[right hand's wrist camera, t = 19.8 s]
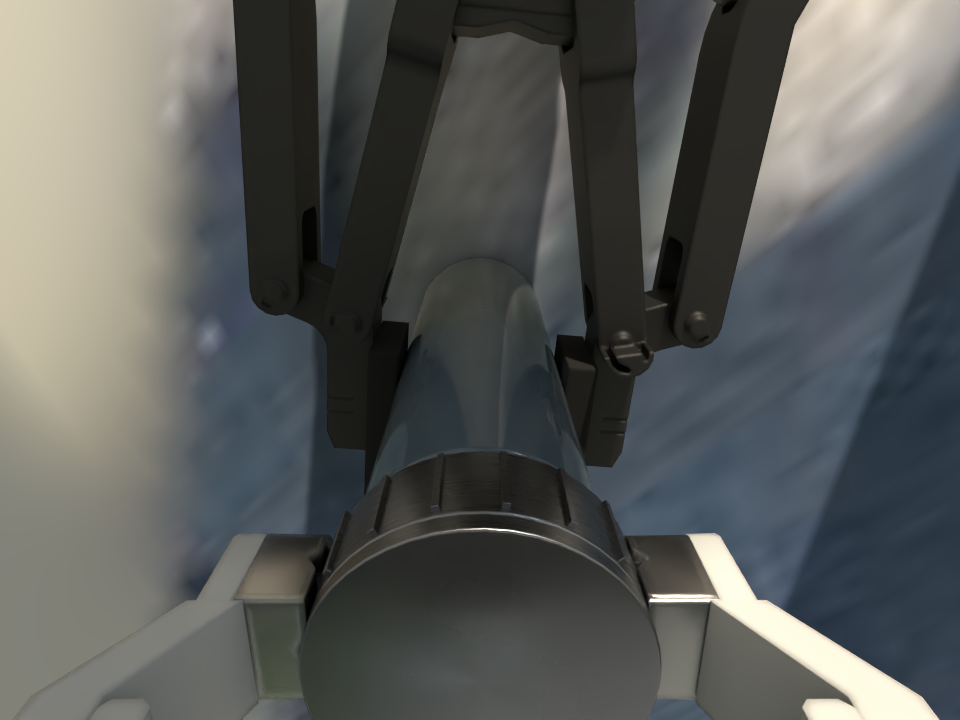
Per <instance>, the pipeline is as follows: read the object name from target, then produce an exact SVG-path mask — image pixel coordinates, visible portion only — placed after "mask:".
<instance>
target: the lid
mask: <svg viewBox="0 0 960 720" xmlns="http://www.w3.org/2000/svg"><path fill="white" fill-rule="evenodd" d="M639 566H640V565H639V564H637V563H635V562H633V560H632V557H631V555H630V552H629V549H628V546H627V543H626V540H625V537H624V535H623V533H622V531H621V529H620V526H619V524H618V523H617V521H616V520H615V518H614V516H613V513H612V510H611V507H610V504H609V503H608V502H607V501H606V500H605V501H604V502H602V501H601V500H600V499H599V498H598V497H597V496H596V495H595V494H594V493H593V492H591V491H590V490H589V489H588V488H587V487H585V486H584V485H583V484H582V483H580V482H579V481H577V480H576V479H574V478H572V477H571V476H569V475H568V474H566V470H565V469H563V468H561V467H559V469H556V468H554V467H552V466H550V465H548V464H545V463H542V462H539V461H536V460H533V459H530V458H527V457H522V456H517V455H512V454H507V451H500V453H497V452H462V453H455V454H448V455H445V454H444V453H441V454H437V457H435V458H431V459H427V460H423V461H421V462H418V463H416V464H413V465H411V466H408V467H406V468H403V469H402V470H400V471H398V472H396V473H395V474H393V475H391V476H388V475H387V474H386V475H385V476H383V477H382V478H381V482H380V483H379V484H378V485H376V486H375V487H374V488H372V489H371V490H370V491H369V492H368V493H367V494H366V495H365V496H363V497H362V498H361V499H360V500H359V501H358V502H357V503H356V505H355V506H354V507H353V509H352V510H351V511H350V513H349V512H347V511H345V512H344V513H343V515H342V517H341V520H340V523H339V526H338V529H337V532H336V535H335V538H334V541H333V544H332V547H331V550H330V553H329V556H328V559H327V562H326V564H325V567H324V570H323V573H322V574H321V575H319V576H318V577H317V586H318V591H317V594H316V597H315V600H314V603H313V606H312V609H311V612H310V615H309V618H308V621H307V624H306V627H305V630H304V633H303V636H302V640H301V646H300V652H299V678H300V683H301V689H302V694H303V697H304V700H305V702H306V705H307V708H308V711H309V713H310V715H311V716H312V718H313V720H647V719H648V717H649V715H650V713H651V711H652V708H653V706H654V704H655V701H656V698H657V694H658V690H659V686H660V680H661V668H662V662H661V650H660V644H659V640H658V637H657V633H656V629H655V626H654V623H653V620H652V617H651V614H650V612H649V610H648V606H647V603H646V600H645V597H644V594H643V591H642V588H641V585H640V582H639V579H638V568H639Z"/></svg>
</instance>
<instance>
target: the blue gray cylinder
mask: <svg viewBox="0 0 960 720" xmlns="http://www.w3.org/2000/svg"><path fill="white" fill-rule="evenodd" d="M500 451H507V454H512V455H517V456H522V457H527V458H530V459H533V460H536V461H539V462H542V463H545V464H548V465H550V466H552V467H554V468H556V469H559V467H561V468H563V469H565V470H566V474H568V475H569V476H571V477H572V478H574V479H576V480H577V481H579V482H580V483H582V484H583V485H584V486H585V487H587V488H588V489H589V490H590V491H591V492H593V493H594V491H593V488H592V484H591V481H590V478H589V474H588V471H587V467H586V464H585V461H584V457H583V454H582V450H581V447H580V444H579V440H578V437H577V434H576V430H575V427H574V423H573V420H572V417H571V413H570V410H569V406H568V403H567V400H566V396H565V393H564V390H563V386H562V383H561V379H560V376H559V373H558V369H557V366H556V362H555V359H554V356H553V352H552V349H551V345H550V342H549V339H548V335H547V332H546V329H545V325H544V322H543V318H542V315H541V312H540V308H539V305H538V301H537V298H536V295H535V293H534V291H533V289H532V287H531V285H530V284H529V282H528V281H527V280H526V279H525V277H524V276H523V275H522V274H521V273H520V272H518V271H517V270H516V269H514V268H513V267H511V266H510V265H508V264H506V263H503V262H501V261H498V260H494V259H489V258H471V259H466V260H462V261H459V262H456V263H454V264H452V265H450V266H448V267H447V268H445V269H444V270H442V271H441V272H440V273H439V274H438V275H437V276H436V277H435V278H434V279H433V281H432V282H431V283H430V285H429V286H428V288H427V290H426V292H425V294H424V298H423V301H422V304H421V308H420V311H419V314H418V318H417V321H416V325H415V328H414V331H413V335H412V338H411V342H410V345H409V348H408V352H407V355H406V359H405V362H404V365H403V369H402V372H401V376H400V379H399V382H398V386H397V389H396V393H395V396H394V399H393V403H392V406H391V410H390V413H389V416H388V420H387V423H386V427H385V430H384V433H383V437H382V440H381V444H380V447H379V450H378V454H377V457H376V461H375V464H374V467H373V471H372V474H371V478H370V481H369V484H368V488H367V491H366V494H367V493H368V492H369V491H370V490H371V489H372V488H374V487H375V486H376V485H378V484H379V483H380V482H381V478H382V477H383V476H385V475H386V474H387V475H388V476H391V475H393V474H395V473H396V472H398V471H400V470H402V469H403V468H406V467H408V466H411V465H413V464H416V463H418V462H421V461H423V460H427V459H431V458H435V457H437V454H441V453H444V454H445V455H448V454H455V453H462V452H497V453H500Z"/></svg>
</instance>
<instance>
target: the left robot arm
mask: <svg viewBox="0 0 960 720" xmlns="http://www.w3.org/2000/svg"><path fill="white" fill-rule="evenodd" d="M634 1H635V0H397V2H396V6H395V10H394V14H393V18H392V22H391V27H390V31H389V36H388V43H387V57H386V62H385V67H384V71H383V75H382V79H381V83H380V87H379V91H378V96H377V100H376V104H375V108H374V112H373V116H372V120H371V125H370V129H369V133H368V137H367V141H366V145H365V149H364V153H363V158H362V162H361V166H360V170H359V174H358V178H357V182H356V186H355V191H354V195H353V199H352V203H351V207H350V211H349V215H348V220H347V224H346V228H345V232H344V236H343V240H342V244H341V248H340V253H339V257H338V261H337V265H336V269H334V268H331V267H329V266H327V265H325V264H322V263H321V229H320V176H319V122H318V68H317V17H316V3H315V0H233V9H234V26H235V43H236V60H237V78H238V95H239V112H240V129H241V146H242V164H243V181H244V198H245V215H246V233H247V250H248V267H249V284H250V293H251V297H252V300H253V301H254V303H255V304H256V306H257V307H258V308H259V309H261V310H262V311H264V312H265V313H267V314H271V315H275V316H276V315H284V314H288V315H291V316H293V317H295V318H298V319H300V320H302V321H305V322H307V323H309V324H311V325H312V326H314V327H315V328H316V329H317V330H318V331H320V333H321V334H322V336H323V337H324V339H325V342H326V344H327V396H328V399H327V410H328V412H327V432H328V434H329V436H330V438H331V441H332V443H333V445H334V448H347V449H360V450H366V453H365V492H364V496H365V495H366V491H367V488H368V484H369V481H370V478H371V474H372V471H373V467H374V464H375V461H376V457H377V454H378V450H379V447H380V444H381V440H382V437H383V433H384V430H385V427H386V423H387V420H388V416H389V413H390V410H391V406H392V403H393V399H394V396H395V393H396V389H397V386H398V382H399V379H400V376H401V372H402V369H403V365H404V362H405V359H406V355H407V351H408V330H409V323H406V322H393V321H383V322H382V324H381V321H382V307H383V305H384V303H385V301H386V299H387V298H388V297H386V295H387V292H388V288H389V284H390V281H391V277H392V273H393V270H394V266H395V263H396V259H397V255H398V252H399V248H400V244H401V241H402V237H403V233H404V230H405V226H406V222H407V219H408V215H409V211H410V208H411V204H412V200H413V197H414V193H415V189H416V186H417V182H418V179H419V175H420V171H421V168H422V164H423V160H424V157H425V153H426V149H427V146H428V142H429V138H430V135H431V131H432V127H433V124H434V120H435V116H436V113H437V109H438V105H439V102H440V98H441V94H442V91H443V87H444V84H445V80H446V78H447V75H448V72H449V69H450V66H451V62H452V59H453V55H454V52H455V48H456V44H457V41H458V37H459V36H463V37H473V38H480V37H485V36H490V35H495V34H500V33H505V32H513V33H516V34H518V35H521V36H523V37H526V38H528V39H531V40H533V41H536V42H538V43H541V44H549V45H559V55H560V66H561V76H562V82H563V86H564V90H565V96H566V107H567V119H568V130H569V142H570V153H571V165H572V176H573V187H574V199H575V210H576V222H577V233H578V245H579V256H580V268H581V279H582V291H583V302H584V314H585V322H586V325H587V330H586V337H585V340H584V338H583V337H581V336H569V335H557V341H556V348H555V356H554V359H555V362H556V366H557V369H558V373H559V376H560V379H561V383H562V386H563V390H564V393H565V396H566V400H567V403H568V406H569V410H570V413H571V417H572V420H573V423H574V427H575V430H576V434H577V437H578V440H579V444H580V447H581V450H582V454H583V457H584V461H585V464H586V466H600V467H612V466H613V465H614V463H615V462H616V460H617V459H618V457H619V456H620V454H621V452H622V448H623V442H624V436H625V431H626V425H627V419H628V414H629V409H630V403H631V398H632V392H633V386H634V381H635V376H638V375H641V374H642V373H643V372H645V371H646V370H647V369H648V368H649V366H650V365H651V363H652V361H653V357H654V352H656V351H659V350H663V349H667V348H671V347H675V346H679V345H684V346H687V347H690V348H702V347H704V346H706V345H708V344H710V343H712V342H713V341H714V340H715V339H716V338H717V337H718V334H719V332H720V330H721V327H722V323H723V319H724V315H725V311H726V307H727V303H728V298H729V294H730V290H731V286H732V282H733V278H734V274H735V270H736V265H737V261H738V257H739V253H740V249H741V245H742V241H743V236H744V232H745V228H746V224H747V220H748V216H749V212H750V208H751V203H752V199H753V195H754V191H755V187H756V183H757V179H758V174H759V170H760V166H761V162H762V158H763V154H764V150H765V146H766V141H767V137H768V133H769V129H770V125H771V121H772V117H773V112H774V108H775V104H776V100H777V96H778V92H779V88H780V84H781V79H782V75H783V71H784V67H785V63H786V59H787V55H788V50H789V46H790V42H791V38H792V34H793V30H794V26H795V23H796V22H797V20H798V18H799V17H800V15H801V13H802V11H803V10H804V8H805V6H806V5H807V3H808V1H809V0H713V1H714V2H716V3H717V4H716V6H715V8H714V10H713V12H712V14H711V17H710V20H709V23H708V25H707V28H706V31H705V34H704V38H703V42H702V45H701V49H700V53H699V58H698V63H697V68H696V73H695V78H694V83H693V88H692V93H691V98H690V104H689V109H688V114H687V119H686V124H685V129H684V134H683V139H682V144H681V149H680V154H679V159H678V164H677V169H676V174H675V179H674V184H673V189H672V194H671V199H670V204H669V209H668V214H667V219H666V224H665V229H664V234H663V239H662V244H661V249H660V254H659V259H658V264H657V269H656V274H655V279H654V284H653V290H652V291H648V292H644V279H643V260H642V241H641V222H640V204H639V185H638V166H637V147H636V128H635V110H634V91H633V79H634V73H635V69H636V61H637V47H636V27H635V8H634Z"/></svg>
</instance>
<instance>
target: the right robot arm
mask: <svg viewBox="0 0 960 720" xmlns="http://www.w3.org/2000/svg"><path fill="white" fill-rule="evenodd" d="M624 537H625V540H626V543H627V546H628V549H629V552H630V555H631V557H632V560H633V562H635V563H637V564H639V565H640V566H639V568H638V579H639V582H640V585H641V588H642V591H643V594H644V597H645V600H646V603H647V606H648V610H649V612H650V614H651V617H652V620H653V623H654V626H655V629H656V633H657V637H658V640H659V644H660V650H661V662H662V668H661V680H660V686H659V690H658V694H657V698H663V699H696V703H697V704H698V705H699V706H700V707H701V708H702V709H703V710H704V712H705V713H706V714H707V715H708V716H709V717H710V718H711V719H712V720H939V719H938V717H937V716H936V715H935V713H934V712H933V711H932V709H931V708H930V707H929V705H928V704H927V703H926V701H925V700H924V699H923V698H922V697H921V696H920V695H918V694H916V693H915V692H913V691H912V690H910V689H908V688H907V687H905V686H904V685H902V684H900V683H899V682H897V681H896V680H894V679H892V678H891V677H889V676H888V675H886V674H884V673H883V672H881V671H880V670H878V669H876V668H875V667H873V666H872V665H870V664H868V663H867V662H865V661H864V660H862V659H860V658H859V657H857V656H855V655H854V654H852V653H851V652H849V651H847V650H846V649H844V648H843V647H841V646H839V645H838V644H836V643H835V642H833V641H831V640H830V639H828V638H827V637H825V636H823V635H822V634H820V633H819V632H817V631H815V630H814V629H812V628H811V627H809V626H807V625H806V624H804V623H803V622H801V621H799V620H798V619H796V618H795V617H793V616H791V615H790V614H788V613H786V612H785V611H783V610H782V609H780V608H778V607H777V606H775V605H774V604H772V603H770V602H769V601H767V600H757V599H756V597H755V595H754V593H753V592H752V590H751V588H750V587H749V585H748V583H747V581H746V580H745V578H744V576H743V575H742V573H741V571H740V570H739V568H738V566H737V564H736V563H735V561H734V559H733V558H732V556H731V554H730V552H729V551H728V549H727V547H726V546H725V544H724V542H723V541H722V539H721V537H720V536H719V535H717V534H716V533H705V534H685V535H639V536H624ZM332 544H333V539H332V538H331V536H330V535H308V534H238V535H236V536H234V537H233V539H232V540H231V542H230V544H229V545H228V547H227V549H226V550H225V552H224V554H223V555H222V557H221V559H220V560H219V562H218V564H217V565H216V567H215V569H214V571H213V572H212V574H211V576H210V577H209V579H208V581H207V582H206V584H205V586H204V587H203V589H202V591H201V592H200V594H199V596H198V598H197V599H196V600H186V601H185V602H183V603H181V604H180V605H178V606H176V607H175V608H173V609H172V610H170V611H168V612H167V613H165V614H163V615H162V616H160V617H159V618H157V619H155V620H154V621H152V622H150V623H149V624H147V625H146V626H144V627H142V628H141V629H139V630H137V631H136V632H134V633H133V634H131V635H129V636H128V637H126V638H124V639H123V640H121V641H120V642H118V643H116V644H115V645H113V646H111V647H110V648H108V649H107V650H105V651H103V652H102V653H100V654H98V655H97V656H95V657H94V658H92V659H90V660H89V661H87V662H85V663H84V664H82V665H81V666H79V667H77V668H76V669H74V670H72V671H71V672H69V673H68V674H66V675H64V676H63V677H61V678H59V679H58V680H56V681H54V682H53V683H51V684H50V685H48V686H46V687H45V688H43V689H41V690H40V691H38V692H37V693H35V694H33V695H32V696H31V697H30V698H29V699H28V700H27V702H26V703H25V704H24V706H23V707H22V708H21V709H20V711H19V712H18V713H17V715H16V716H15V717H14V718H13V720H242V719H243V718H244V717H245V716H246V715H247V714H248V713H249V712H250V711H251V710H252V709H253V708H254V707H255V706H256V705H257V704H258V699H290V698H304V697H303V694H302V689H301V683H300V678H299V652H300V646H301V640H302V636H303V633H304V630H305V627H306V624H307V621H308V618H309V615H310V612H311V609H312V606H313V603H314V600H315V597H316V594H317V591H318V586H317V577H318V576H319V575H321V574H322V573H323V570H324V567H325V564H326V562H327V559H328V556H329V553H330V550H331V547H332Z"/></svg>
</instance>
